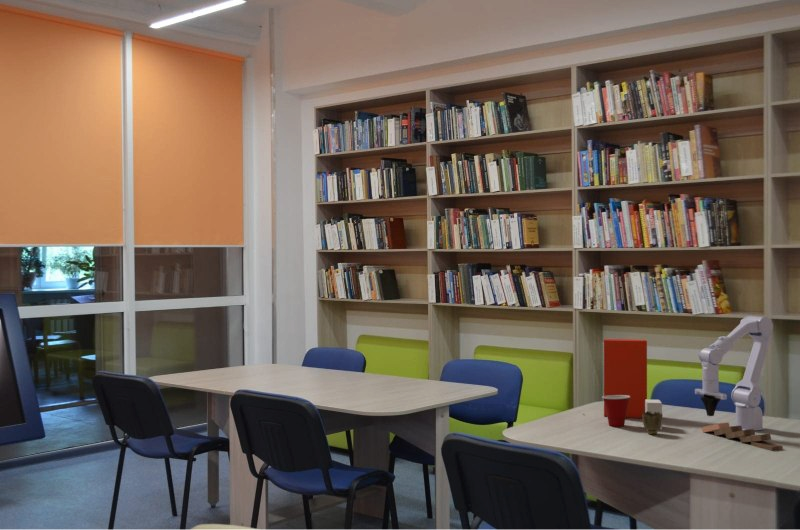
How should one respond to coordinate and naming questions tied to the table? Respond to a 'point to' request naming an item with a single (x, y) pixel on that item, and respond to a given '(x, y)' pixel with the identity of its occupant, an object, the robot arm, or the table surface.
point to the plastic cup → (616, 409)
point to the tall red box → (626, 373)
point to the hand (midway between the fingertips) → (710, 415)
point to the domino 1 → (715, 427)
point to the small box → (653, 407)
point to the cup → (652, 422)
